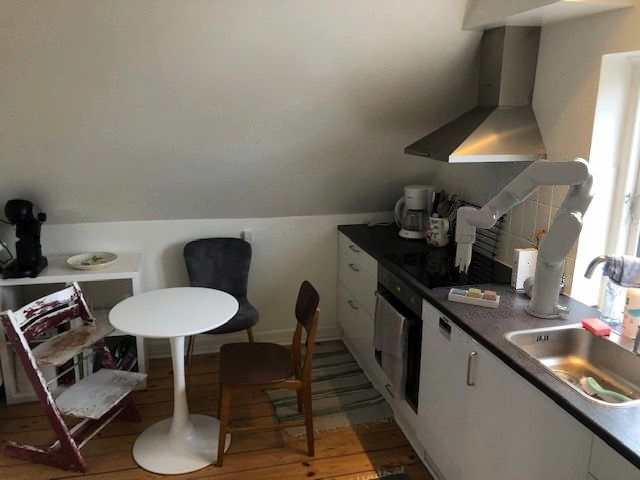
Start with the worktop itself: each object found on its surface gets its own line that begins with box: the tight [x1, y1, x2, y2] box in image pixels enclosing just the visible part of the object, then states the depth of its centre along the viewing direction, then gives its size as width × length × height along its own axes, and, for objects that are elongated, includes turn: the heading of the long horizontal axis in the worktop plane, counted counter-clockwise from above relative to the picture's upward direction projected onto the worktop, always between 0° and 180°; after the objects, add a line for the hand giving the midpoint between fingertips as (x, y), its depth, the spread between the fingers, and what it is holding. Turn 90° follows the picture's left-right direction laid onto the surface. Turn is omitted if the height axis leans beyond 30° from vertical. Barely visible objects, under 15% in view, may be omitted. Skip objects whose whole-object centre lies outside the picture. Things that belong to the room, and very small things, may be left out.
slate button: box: [453, 288, 467, 296], centre depth 209 cm, size 4×4×3 cm
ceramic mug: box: [522, 276, 534, 298], centre depth 213 cm, size 11×8×8 cm
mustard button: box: [467, 287, 482, 298], centre depth 206 cm, size 4×4×3 cm
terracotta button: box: [483, 290, 497, 301], centre depth 204 cm, size 4×4×3 cm
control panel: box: [447, 287, 501, 309], centre depth 207 cm, size 19×8×2 cm, turn 67°
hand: (462, 281), depth 207 cm, fingers closed
